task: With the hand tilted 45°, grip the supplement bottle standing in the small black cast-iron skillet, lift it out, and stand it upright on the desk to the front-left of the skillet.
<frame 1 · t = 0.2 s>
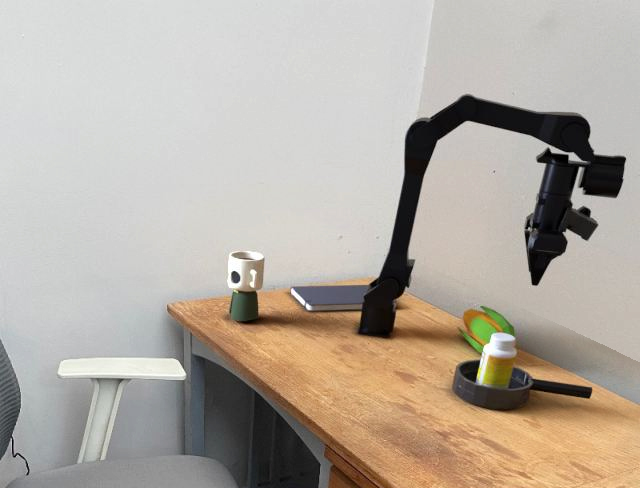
hand: (533, 278, 148), 15 cm above the table, tool pointing down, fingers open, 9 cm apart
skillet handle: (560, 388, 134), point 2 cm above the table
notebook: (343, 301, 176), on the table
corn: (480, 347, 157), on the table
character mug: (243, 319, 162), on the table
skillet: (489, 394, 137), on the table
supplement bottle: (489, 393, 137), resting on skillet
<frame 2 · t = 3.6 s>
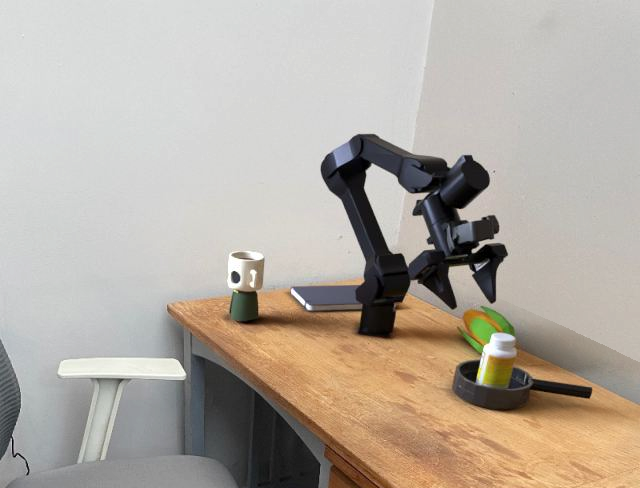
hand: (474, 305, 135), 13 cm above the table, tool tilted 45°, fingers open, 9 cm apart
nothing on the table moved.
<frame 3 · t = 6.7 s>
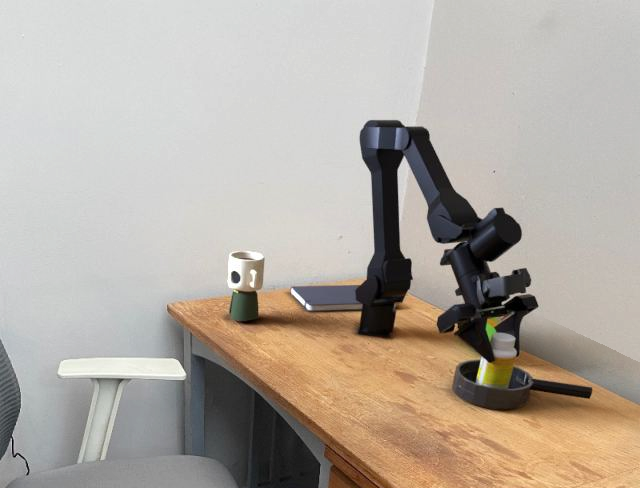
hand: (504, 359, 132), 7 cm above the table, tool tilted 45°, fingers closed on supplement bottle, 5 cm apart
supplement bottle: (489, 393, 137), resting on skillet, touching gripper
everything else where it was.
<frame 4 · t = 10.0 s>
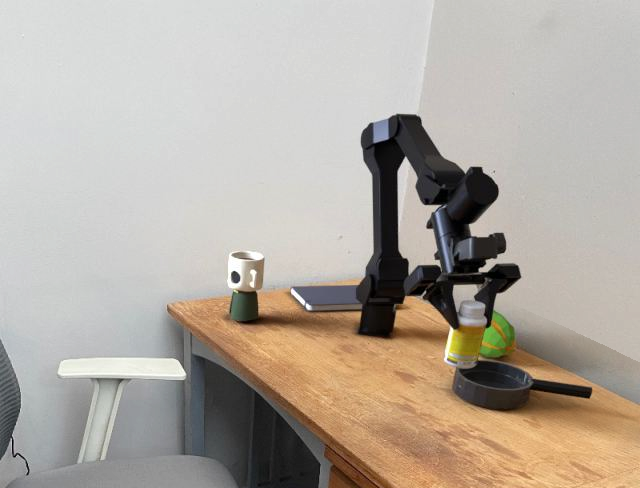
hand: (472, 328, 126), 13 cm above the table, tool tilted 45°, fingers closed on supplement bottle, 5 cm apart
supplement bottle: (459, 364, 131), point 6 cm above the table, touching gripper
everything else where it was.
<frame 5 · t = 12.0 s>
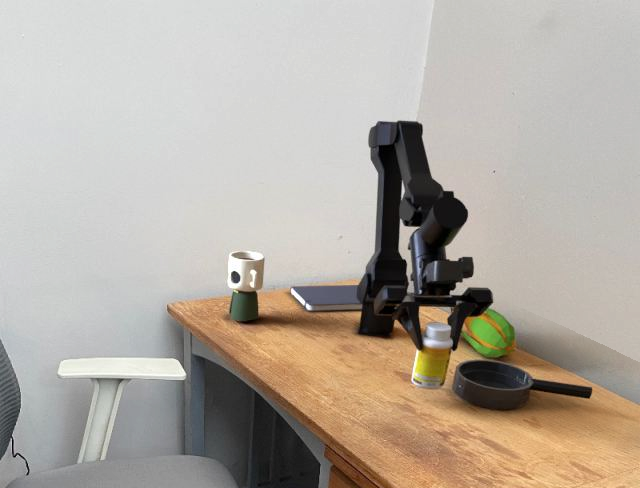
hand: (437, 350, 127), 10 cm above the table, tool tilted 45°, fingers closed on supplement bottle, 5 cm apart
supplement bottle: (427, 385, 132), point 3 cm above the table, touching gripper
everything else where it was.
when the fingers open (7 cm above the table, at t = 13.4 s): supplement bottle stays where it is, on the table.
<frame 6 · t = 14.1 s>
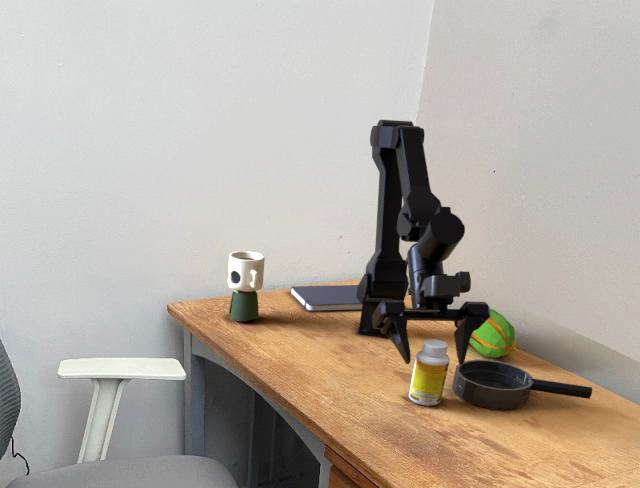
hand: (435, 363, 128), 7 cm above the table, tool tilted 45°, fingers open, 9 cm apart
supplement bottle: (424, 401, 133), on the table
everything else where it was.
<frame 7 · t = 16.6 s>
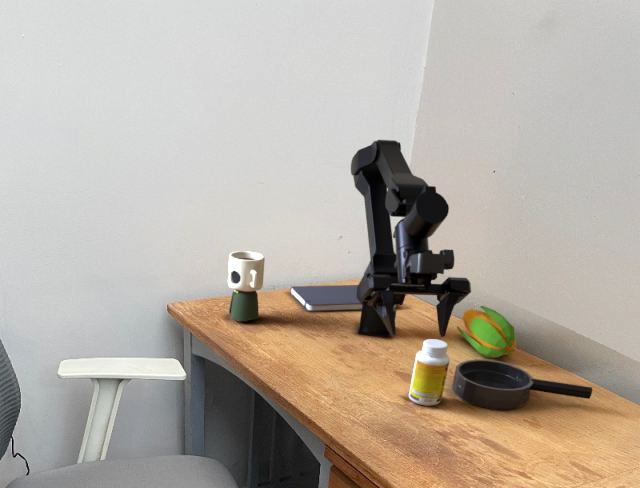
hand: (418, 336, 136), 8 cm above the table, tool tilted 40°, fingers open, 9 cm apart
nothing on the table moved.
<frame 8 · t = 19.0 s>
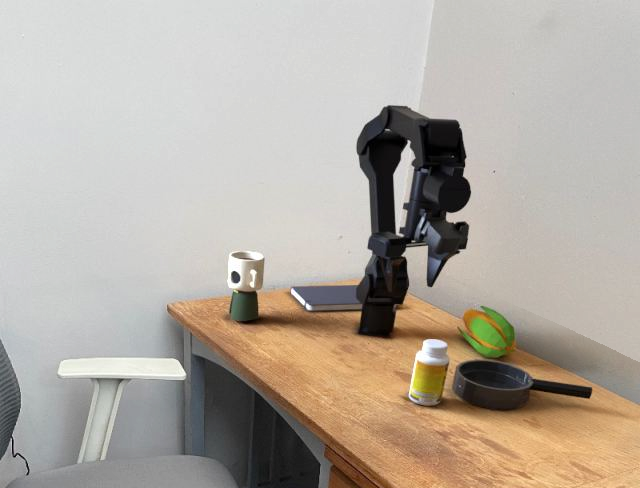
hand: (410, 289, 143), 13 cm above the table, tool pointing down, fingers open, 9 cm apart
nothing on the table moved.
at the end: supplement bottle inside the target area (0.2 cm from its centre), on the table; supplement bottle tilted 0°; supplement bottle touching table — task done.
